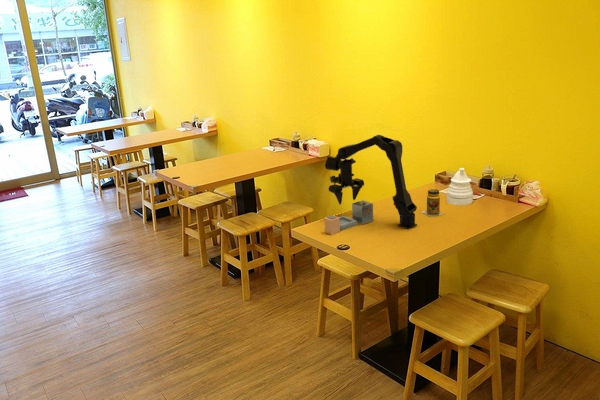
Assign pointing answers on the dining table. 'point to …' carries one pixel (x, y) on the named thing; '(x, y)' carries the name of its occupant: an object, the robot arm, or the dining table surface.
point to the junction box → (362, 212)
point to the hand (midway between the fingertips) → (347, 202)
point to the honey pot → (460, 189)
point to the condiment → (433, 203)
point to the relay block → (332, 224)
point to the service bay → (346, 222)
